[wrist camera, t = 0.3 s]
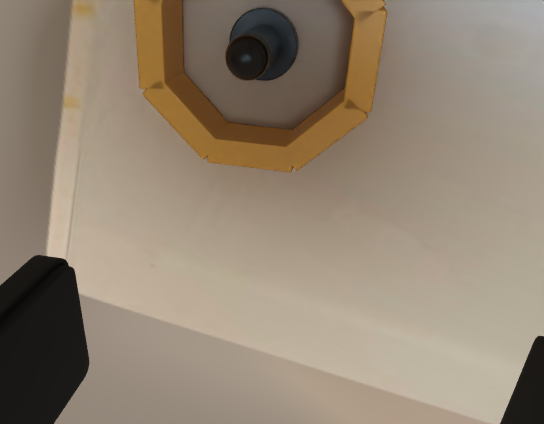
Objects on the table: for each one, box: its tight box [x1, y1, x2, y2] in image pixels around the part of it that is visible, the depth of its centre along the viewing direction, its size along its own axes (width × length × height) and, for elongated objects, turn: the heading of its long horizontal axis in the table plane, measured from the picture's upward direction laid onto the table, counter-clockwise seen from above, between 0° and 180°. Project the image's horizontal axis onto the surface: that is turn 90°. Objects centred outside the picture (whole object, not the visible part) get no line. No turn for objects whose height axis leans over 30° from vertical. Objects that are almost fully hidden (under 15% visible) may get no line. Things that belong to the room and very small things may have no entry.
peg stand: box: [226, 7, 298, 81], centre depth 23 cm, size 4×4×5 cm
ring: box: [134, 0, 387, 172], centre depth 23 cm, size 15×12×3 cm
